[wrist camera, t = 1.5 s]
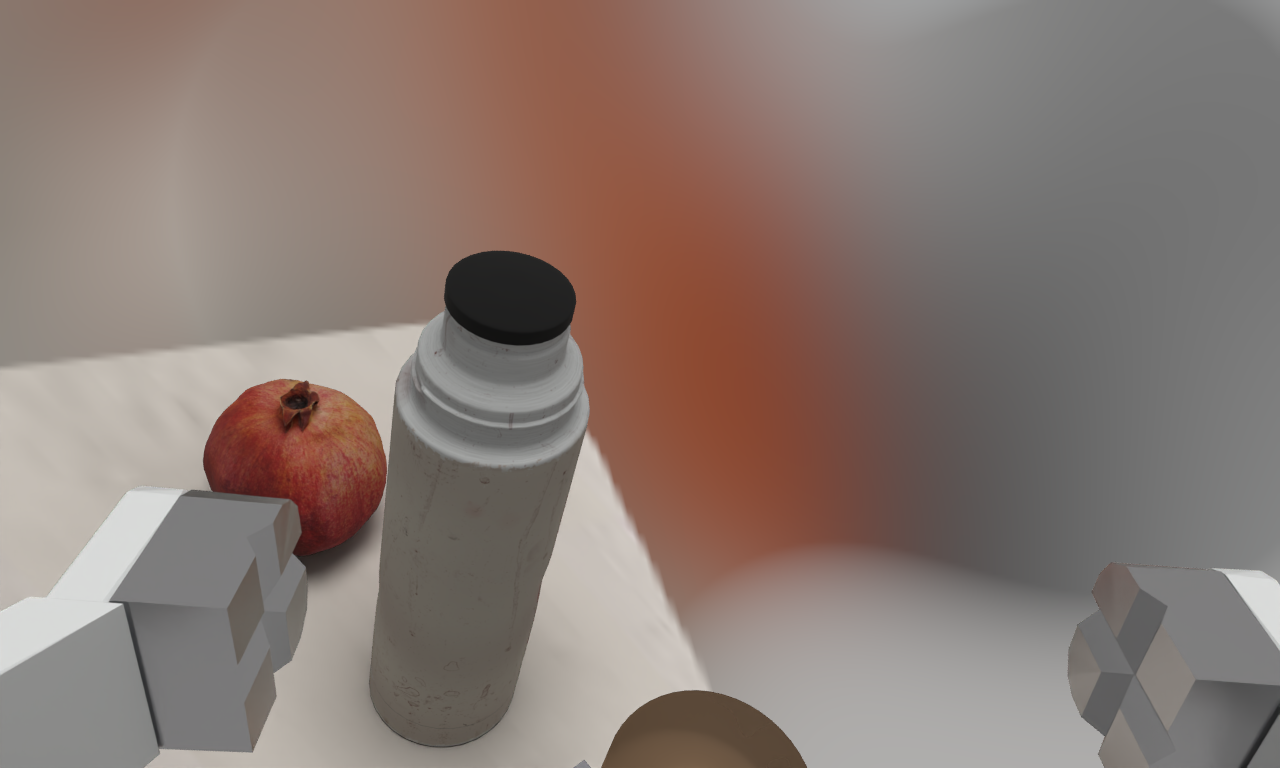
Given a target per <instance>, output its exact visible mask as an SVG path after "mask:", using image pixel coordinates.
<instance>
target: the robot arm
mask: <svg viewBox="0 0 1280 768" xmlns="http://www.w3.org/2000/svg"><path fill="white" fill-rule="evenodd" d="M301 533H302V531H301V524H300V518H299V512H298V506H297V505H296V504H295V503H294V502H293V501H292V500H291V499H281V498H271V497H261V496H250V495H240V494H230V493H220V492H210V491H200V490H190V491H188V490H183V489H172V488H161V487H150V486H138V487H136V488H134V489H132V490H129V491H128V492H127V493H125V494H124V496H123V497H122V498H121V500H120V501H119V502H118V504H117V505H116V506H115V507H114V509H113V510H112V511H111V513H110V514H109V515H108V517H107V518H106V519H105V521H104V522H103V523H102V524H101V526H100V527H99V528H98V530H97V531H96V532H95V534H94V535H93V536H92V537H91V539H90V540H89V541H88V543H87V544H86V545H85V547H84V548H83V549H82V550H81V552H80V553H79V554H78V556H77V557H76V558H75V560H74V561H73V562H72V564H71V565H70V566H69V567H68V569H67V570H66V571H65V573H64V574H63V575H62V577H61V578H60V579H59V580H58V582H57V583H56V584H55V586H54V587H53V588H52V590H51V591H50V592H49V593H48V595H47V596H46V597H45V598H40V597H27V598H25V599H23V600H22V601H20V602H18V603H16V604H14V605H12V606H10V607H8V608H6V609H4V610H2V611H0V768H144V767H145V766H146V765H147V764H148V763H150V762H151V761H152V760H153V759H154V758H156V757H157V756H158V755H159V754H160V751H159V749H180V750H204V751H229V752H253V750H254V748H255V745H256V743H257V741H258V738H259V736H260V734H261V731H262V729H263V727H264V724H265V722H266V720H267V717H268V715H269V713H270V710H271V708H272V706H273V703H274V701H275V699H276V688H275V681H274V674H273V673H274V672H276V671H277V670H279V669H280V668H282V667H283V666H284V665H286V664H287V663H289V662H290V661H292V658H293V656H294V653H295V651H296V648H297V646H298V643H299V641H300V638H301V634H302V630H303V625H304V620H305V615H306V611H307V593H308V584H307V574H306V567H305V566H304V565H303V564H302V563H301V562H300V561H299V559H298V558H297V557H296V556H295V555H294V554H293V553H292V552H293V550H294V548H295V546H296V544H297V542H298V539H299V537H300V535H301ZM1092 594H1093V596H1094V598H1095V600H1096V603H1097V605H1098V607H1099V610H1098V611H1096V612H1095V613H1093V614H1092V615H1091V616H1089V617H1088V618H1086V619H1085V620H1083V621H1082V622H1081V623H1079V624H1078V625H1077V628H1076V630H1075V633H1074V636H1073V639H1072V641H1071V644H1070V647H1069V652H1068V679H1069V684H1070V689H1071V694H1072V697H1073V699H1074V701H1075V704H1076V706H1077V709H1078V710H1079V713H1080V715H1081V717H1082V718H1083V719H1085V720H1086V721H1087V722H1088V723H1089V724H1090V725H1092V726H1093V727H1094V728H1095V729H1097V730H1098V731H1099V732H1100V733H1101V734H1103V735H1104V736H1105V737H1104V740H1103V743H1102V745H1101V748H1100V750H1099V753H1098V755H1099V757H1100V759H1101V761H1102V763H1103V766H1104V768H1280V585H1279V583H1278V582H1277V581H1276V580H1275V579H1274V578H1272V577H1270V576H1269V575H1267V574H1265V573H1263V572H1262V571H1253V570H1235V569H1217V568H1210V569H1208V570H1206V569H1196V568H1181V567H1168V566H1153V565H1140V564H1126V563H1125V564H1124V563H1110V564H1109V565H1108V566H1107V567H1106V568H1105V569H1104V570H1103V571H1102V572H1101V573H1100V574H1099V576H1098V579H1097V581H1096V583H1095V586H1094V588H1093V590H1092Z"/></svg>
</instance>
